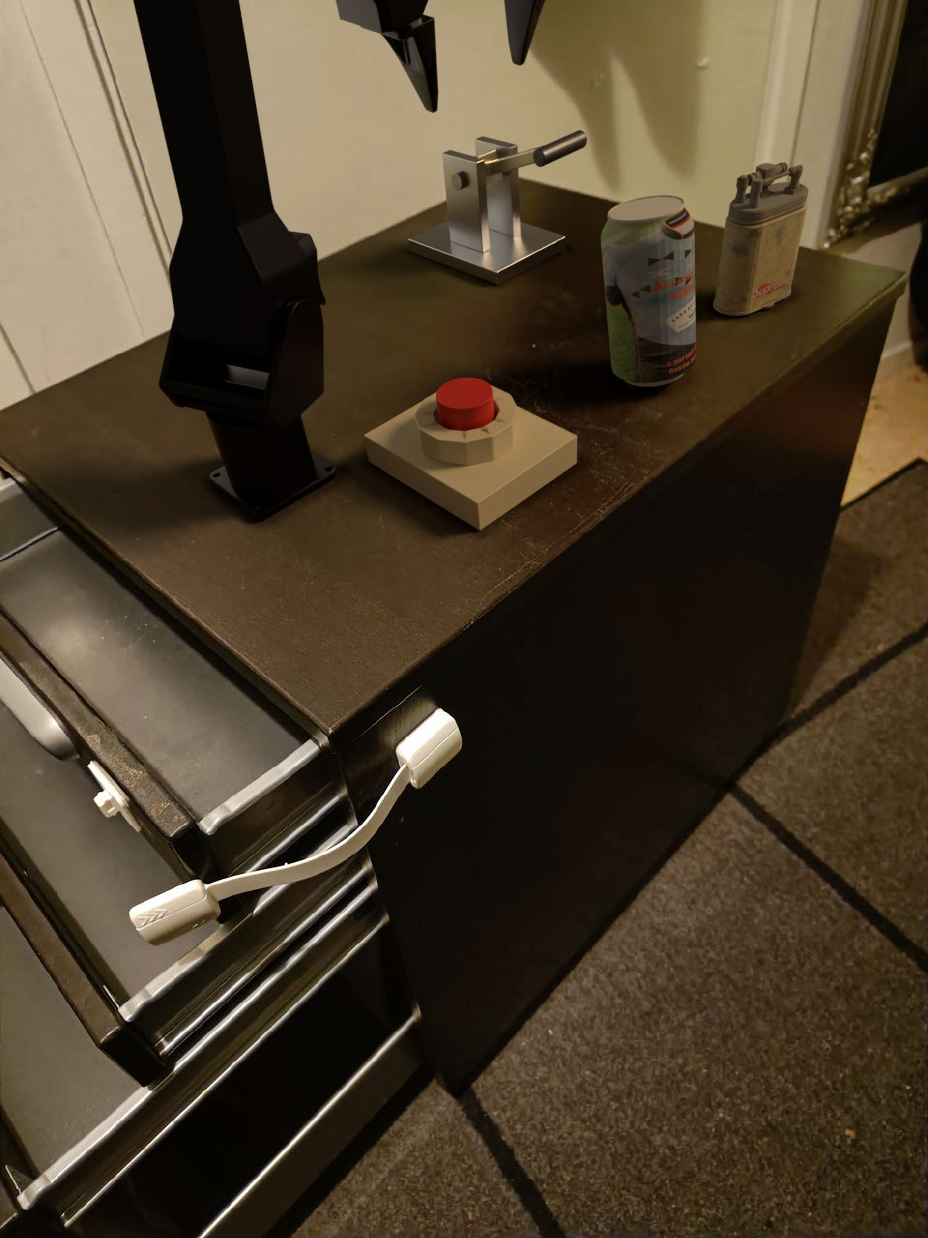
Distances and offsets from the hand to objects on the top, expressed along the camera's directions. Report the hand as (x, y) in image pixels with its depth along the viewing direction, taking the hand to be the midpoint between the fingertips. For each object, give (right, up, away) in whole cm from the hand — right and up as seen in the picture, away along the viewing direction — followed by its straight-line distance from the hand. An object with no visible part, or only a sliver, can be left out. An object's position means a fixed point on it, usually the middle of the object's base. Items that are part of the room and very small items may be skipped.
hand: (475, 86), depth 66 cm
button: (-1, -29, -13) cm, 32 cm away
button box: (0, -32, -10) cm, 33 cm away
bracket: (+1, -7, +12) cm, 15 cm away
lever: (+4, -5, +5) cm, 8 cm away
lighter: (+23, -17, +2) cm, 28 cm away
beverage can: (+13, -24, -4) cm, 28 cm away
